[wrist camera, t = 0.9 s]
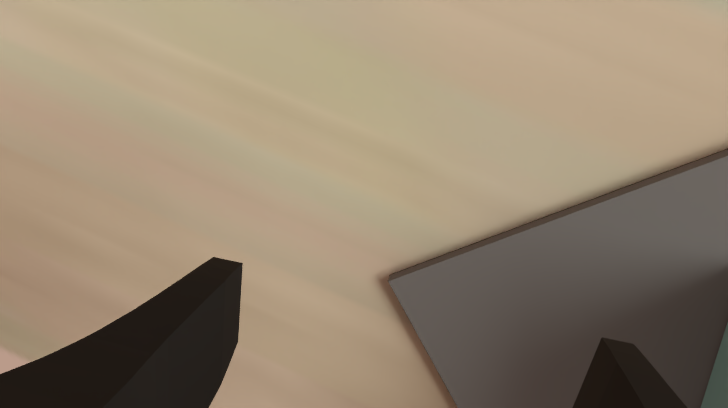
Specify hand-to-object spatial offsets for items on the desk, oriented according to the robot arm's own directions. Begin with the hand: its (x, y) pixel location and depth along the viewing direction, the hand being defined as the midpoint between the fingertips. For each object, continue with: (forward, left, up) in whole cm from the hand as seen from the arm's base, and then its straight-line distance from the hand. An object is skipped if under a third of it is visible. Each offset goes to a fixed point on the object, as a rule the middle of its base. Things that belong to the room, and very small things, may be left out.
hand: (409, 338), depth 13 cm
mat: (-10, -3, -11) cm, 15 cm away
